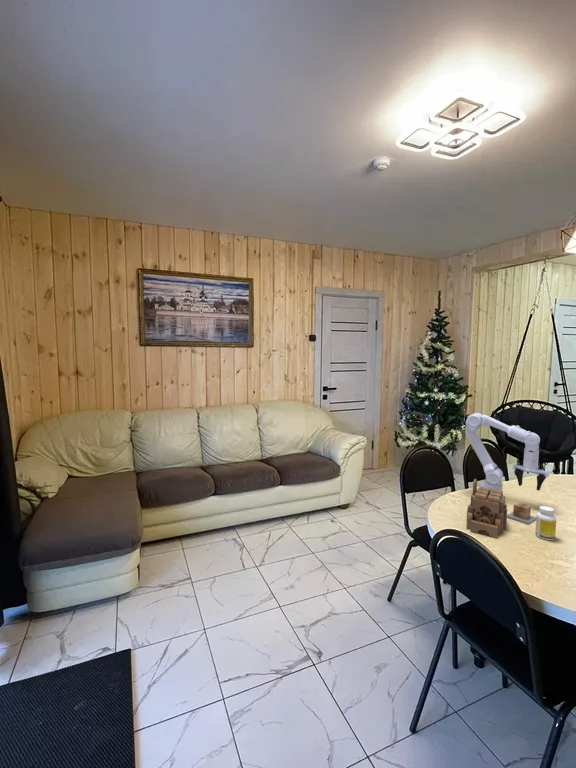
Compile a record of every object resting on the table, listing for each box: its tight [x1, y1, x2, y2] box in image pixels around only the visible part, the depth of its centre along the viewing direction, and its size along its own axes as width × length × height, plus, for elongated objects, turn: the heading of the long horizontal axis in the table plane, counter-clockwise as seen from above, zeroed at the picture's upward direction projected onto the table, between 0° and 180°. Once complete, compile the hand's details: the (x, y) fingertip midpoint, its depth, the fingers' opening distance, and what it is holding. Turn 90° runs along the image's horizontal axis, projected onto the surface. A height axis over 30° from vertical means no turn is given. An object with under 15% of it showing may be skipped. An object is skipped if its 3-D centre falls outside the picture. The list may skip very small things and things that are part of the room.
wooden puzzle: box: [466, 478, 508, 539], centre depth 159 cm, size 22×15×19 cm, turn 145°
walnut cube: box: [512, 501, 532, 520], centre depth 166 cm, size 5×5×5 cm
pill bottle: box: [535, 505, 557, 541], centre depth 149 cm, size 6×6×12 cm
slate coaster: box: [507, 511, 536, 525], centre depth 166 cm, size 9×9×1 cm
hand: (529, 487), depth 177 cm, fingers open, 7 cm apart
